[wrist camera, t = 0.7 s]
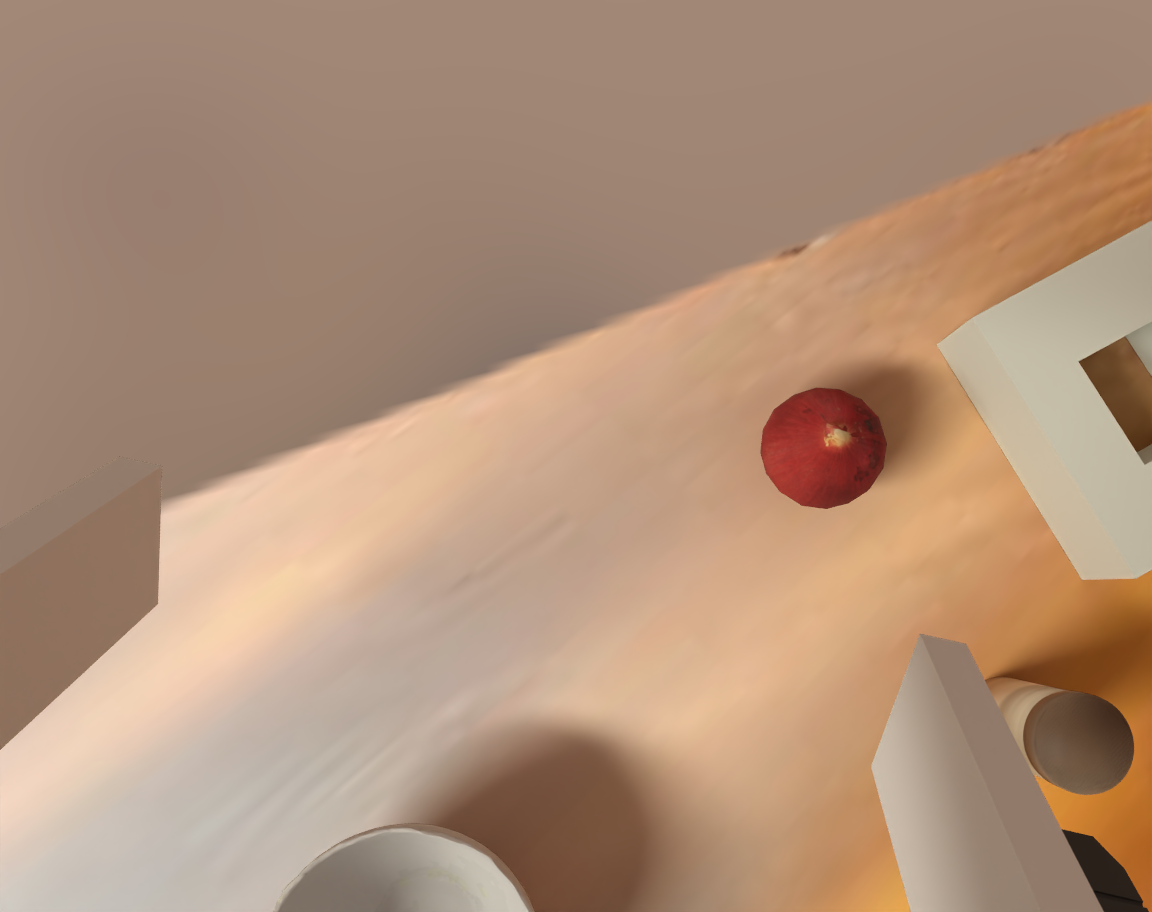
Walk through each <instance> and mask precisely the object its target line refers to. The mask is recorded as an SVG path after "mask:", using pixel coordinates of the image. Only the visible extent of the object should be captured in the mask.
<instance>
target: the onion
mask: <svg viewBox="0 0 1152 912" xmlns="http://www.w3.org/2000/svg"><path fill="white" fill-rule="evenodd" d="M886 445H887V443H886V440H885V436H884V433H883V429H882V426H881V423H880V419H879V417H878V416H877V415H876V414H875V413H874V412H873V411H872V410H871V409H870V408H869V407H868V406H867V405H866V404H865V403H864V402H863V400H861V399H859V398H857V397H855V396H853V395H850V394H848V393H846V392H844V391H842V390H838V389H826V388H814V389H811V390H808V391H805V392H801V393H798V394H795V395H793V396H792V397H790V398H789V399H788V400H786V401H785V402H783V403H782V404H781V405H779V406H778V407H777V408H775V409H774V411H773V412H772V414H771V416H770V418H769V420H768V421H767V423H766V425H765V427H764V429H763V434H762V443H761V456H762V460H763V463H764V467H765V470H766V474H767V475H768V476H769V478H770V479H771V480H772V482H773V483H774V484H775V486H776V487H777V488H778V490H779V491H780V492H781V493H783V494H785V495H786V496H788V497H789V498H791V499H792V500H794V501H796V502H797V503H799V504H800V505H802V506H809V507H816V508H824V509H828V508H832V507H835V506H839V505H843V504H847V503H850V502H851V501H853V500H854V499H856V498H857V497H859V496H860V495H862V494H864V493H865V492H867V491H868V490H869V489H870V488H871V486H872V485H873V483H874V481H875V480H876V478H877V477H878V475H879V474H880V472H881V471H882V469H883V465H884V458H885V452H886Z"/></svg>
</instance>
